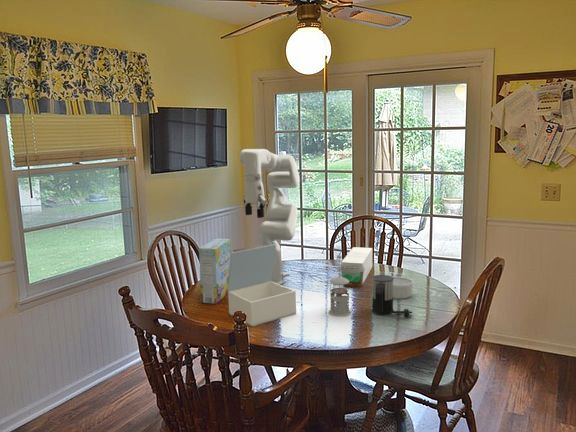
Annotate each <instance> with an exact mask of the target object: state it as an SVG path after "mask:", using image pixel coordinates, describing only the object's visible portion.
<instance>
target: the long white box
mask: <svg viewBox="0 0 576 432" xmlns="http://www.w3.org/2000/svg"><path fill="white" fill-rule="evenodd" d="M341 265H342V266H344V267H351V266H353V267H357V268H362V267H364V268H365V271H364V272H363V281H362V285H363V284H364V282H365V281H366V279H367V278H368V275H369V274H370V271H372V268H373V247H357V246H356V247H354V246H353V247H352V248H351V250H350V251H349V252H348V253H347V254H346V255H345V257H344V258H343V259H342V261H341V262H340V266H341ZM340 277H342V271H341V272H340Z"/></svg>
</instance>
